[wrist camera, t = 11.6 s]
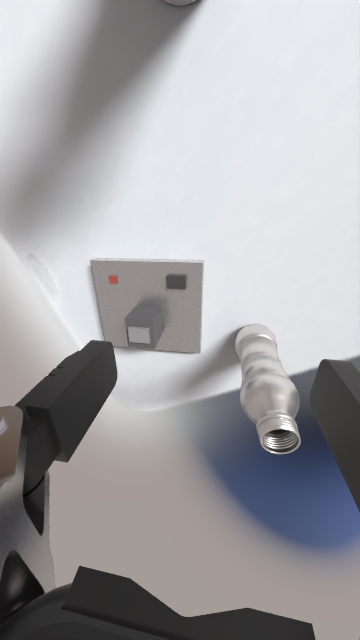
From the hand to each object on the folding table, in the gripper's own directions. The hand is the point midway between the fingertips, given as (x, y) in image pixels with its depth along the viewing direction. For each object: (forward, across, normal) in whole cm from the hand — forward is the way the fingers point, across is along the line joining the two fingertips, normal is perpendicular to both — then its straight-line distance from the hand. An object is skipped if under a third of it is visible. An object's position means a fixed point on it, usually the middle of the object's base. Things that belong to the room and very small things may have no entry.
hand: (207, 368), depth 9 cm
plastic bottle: (+28, -7, +14) cm, 32 cm away
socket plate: (+28, +11, +9) cm, 31 cm away
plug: (+28, +11, +11) cm, 32 cm away
